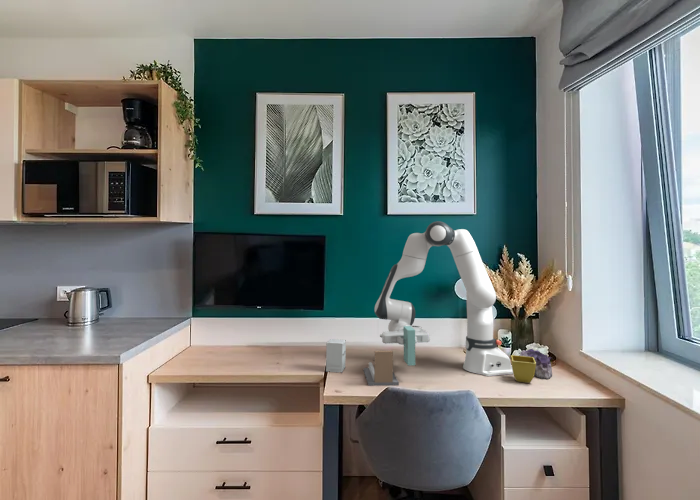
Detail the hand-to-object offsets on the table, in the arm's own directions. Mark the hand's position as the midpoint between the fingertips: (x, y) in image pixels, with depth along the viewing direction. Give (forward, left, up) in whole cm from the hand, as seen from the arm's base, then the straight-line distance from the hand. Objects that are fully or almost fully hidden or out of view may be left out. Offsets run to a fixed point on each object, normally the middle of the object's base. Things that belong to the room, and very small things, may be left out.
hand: (409, 341), depth 158 cm
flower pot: (-47, +3, -16) cm, 49 cm away
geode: (-59, -8, -16) cm, 62 cm away
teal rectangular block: (0, 0, -9) cm, 9 cm away
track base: (+11, -3, -16) cm, 20 cm away
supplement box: (+29, -14, -16) cm, 36 cm away
